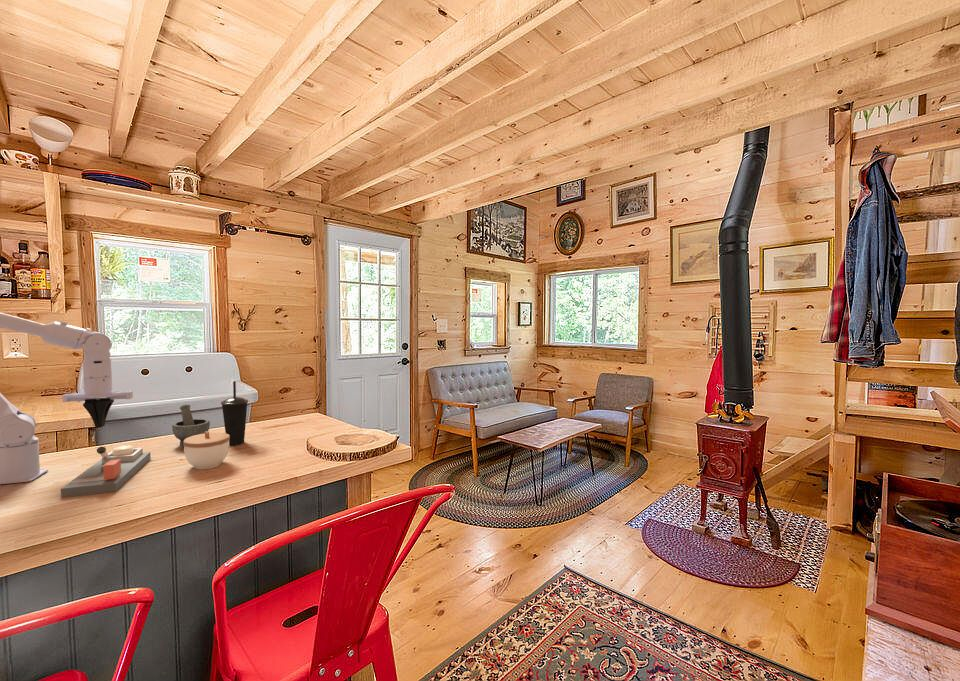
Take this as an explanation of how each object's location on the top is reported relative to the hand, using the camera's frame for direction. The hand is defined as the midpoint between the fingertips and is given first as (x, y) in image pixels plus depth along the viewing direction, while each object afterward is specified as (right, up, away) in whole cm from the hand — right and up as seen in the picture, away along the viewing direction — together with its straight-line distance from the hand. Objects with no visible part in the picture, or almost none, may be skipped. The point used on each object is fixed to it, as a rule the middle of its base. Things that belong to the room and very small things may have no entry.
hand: (99, 426), depth 118 cm
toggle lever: (+9, -7, -8) cm, 14 cm away
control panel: (+9, -11, -7) cm, 16 cm away
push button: (+6, -8, 0) cm, 10 cm away
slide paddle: (+15, -10, -14) cm, 23 cm away
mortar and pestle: (+11, -10, +20) cm, 25 cm away
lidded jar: (+29, -11, +1) cm, 31 cm away
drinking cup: (+25, -10, +21) cm, 34 cm away
